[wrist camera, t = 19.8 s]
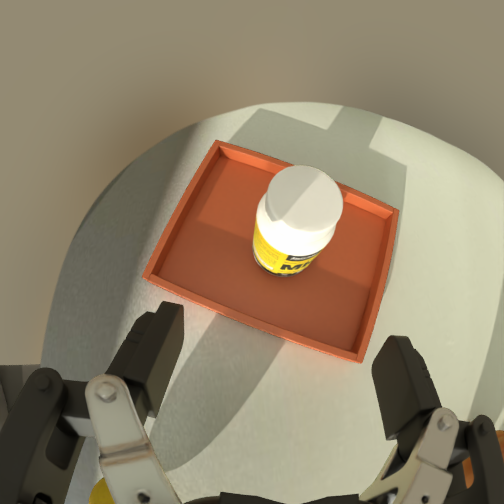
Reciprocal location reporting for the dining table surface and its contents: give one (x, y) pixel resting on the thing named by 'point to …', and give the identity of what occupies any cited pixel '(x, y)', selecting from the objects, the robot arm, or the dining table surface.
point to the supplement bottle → (295, 219)
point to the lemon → (101, 494)
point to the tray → (261, 282)
